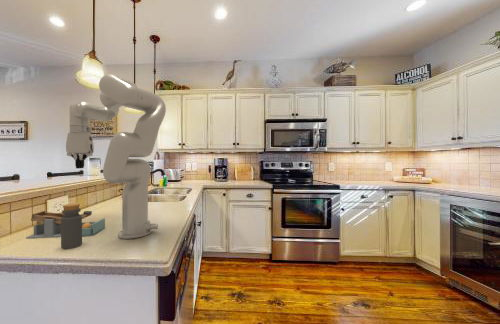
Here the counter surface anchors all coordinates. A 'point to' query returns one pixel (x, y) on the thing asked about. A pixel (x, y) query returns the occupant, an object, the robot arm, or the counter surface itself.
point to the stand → (46, 230)
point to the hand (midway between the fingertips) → (79, 168)
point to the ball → (86, 225)
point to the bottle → (71, 226)
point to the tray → (93, 227)
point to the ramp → (53, 216)
